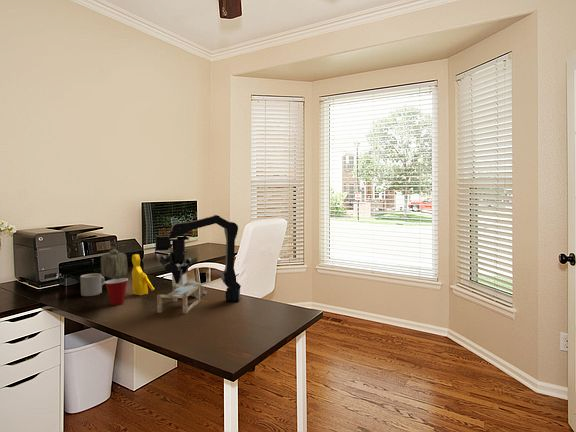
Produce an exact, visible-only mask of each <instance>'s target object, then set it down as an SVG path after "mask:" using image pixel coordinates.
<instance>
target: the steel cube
mask: <svg viewBox="0 0 576 432" xmlns="http://www.w3.org/2000/svg"><path fill="white" fill-rule="evenodd" d="M187 276H188V275H187V272H186V273H181V277H180V280H179V283H178V284H176V282H175V279H174V276H173V274H172V275H171V283H172V284H171V285H172V287H173V286H183V285H186V283H187V282H188V280H187V279H188V278H187Z"/></svg>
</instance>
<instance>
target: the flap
mask: <svg viewBox="0 0 576 432" xmlns="http://www.w3.org/2000/svg"><path fill="white" fill-rule="evenodd" d="M194 288H195V287H183V286H180V287H179V288H177V289H176V290H174V291H173V290H172V291H171V292H169V293H168V294H167V295H185V294H187V293H188V292H189V291H191V290H192V289H194Z"/></svg>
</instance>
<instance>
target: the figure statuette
mask: <svg viewBox="0 0 576 432" xmlns="http://www.w3.org/2000/svg"><path fill="white" fill-rule="evenodd" d="M131 262H132V265H133V267H132V270H131V277H132V284H131V288H132V294H133V295H137V296H143V295H148V294H149V289H150V291H151V292H152V291H154V290H155V287H153V284H152V283H151V281H150V280H149V278H148V276H147V274H146V273H145V272H143V269H142V267H141V257H140V254H138V253H135V254H132V256H131ZM148 287H149V288H148Z"/></svg>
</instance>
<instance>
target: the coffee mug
mask: <svg viewBox="0 0 576 432" xmlns="http://www.w3.org/2000/svg"><path fill="white" fill-rule="evenodd" d="M105 281H106V280H105V276H103V275H102V274H101V273H96V272H95V273H87V274H82V275H80V296H82V297H91V296H92V297H93V296H98V295H101V294H102V293H103V286H104V285H105V283H104V282H105ZM100 293H101V294H100Z"/></svg>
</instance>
